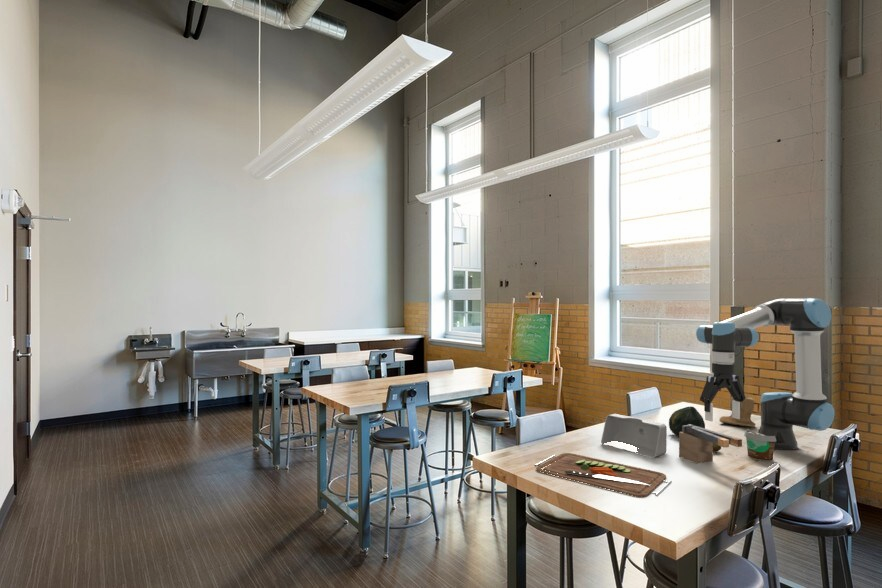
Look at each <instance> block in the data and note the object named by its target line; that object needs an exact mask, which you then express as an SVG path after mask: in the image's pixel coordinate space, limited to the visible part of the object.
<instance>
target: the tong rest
mask: <svg viewBox="0 0 882 588" xmlns="http://www.w3.org/2000/svg"><path fill="white" fill-rule="evenodd" d="M686 426H688V425H684V426H682V432H679V436H678V457H679V458H682V459H684V460H686V461H690V462H691V463H695V464H704V463H705V464H706V463H713V462H714V452H713V443H712V442H709V441H707V440H705V439H702V438H700V437H697V436H695V435H692V434H690V433H687V432H686ZM693 427H695V428H698V429H701V430H703V431H706V432H709V433H711V434H714V435H716V436H719V437H722V438H725V439H728V440H729V446H733V447H737V448H741V447H743V439H742V438H738V437H735V436H732V435H727V434H724V433H721V432H717V431H715V430H714V431H713V430H711V429H708V428H705V429H704V428H701V427H698V426H694V425H693Z"/></svg>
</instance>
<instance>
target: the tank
mask: <svg viewBox="0 0 882 588" xmlns="http://www.w3.org/2000/svg"><path fill="white" fill-rule="evenodd" d="M603 425H604V426H603V431H602V435H601V439H600V441H601V443H600V444H604V443H607V442H611V441H618V442H623V443H626V444H630V445H633V446H635V447H637V451H638V452H636V453H638V454H637V455H640V454H641V455H640V456H644V457H647V458H648V457H649V458H652V459H653V458H657V457H659V456H661V455H665V454H666V453H667V444H668V443H667V442H668V441H667V440H668V438H667V436H668V435H667V432H668V431H667V429H668V427H667V425H666V424H665V423H663V422H657V421H654V420H648V419H643V418H639V417H633V416H628V415H624V414H623V415H622V414H618V413H612V414H608V415H607V416H606V417H605V421H604V424H603ZM638 448H639V449H638ZM636 453H635V452H634V453H633V454H636Z"/></svg>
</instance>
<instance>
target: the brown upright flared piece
mask: <svg viewBox="0 0 882 588" xmlns="http://www.w3.org/2000/svg"><path fill="white" fill-rule="evenodd" d="M733 400H734V399H733V397H732V396H731V397H730V401H729V402H730V408H731V411H732V401H733ZM734 401H735V400H734ZM754 410H755V400H754V398H752V397H749V396H748V397H746V396H745V399H744V401H743V402H741V409H740V419H736V418H732V413H731V415H729V416H728V415H727V416H721V417H719V422H720V423H722V424H726V425H732V426H738V425H739V426H738V427H755V426H756V423H755V422H754V421H752V420H751V417H752V414H753V413H754V412H753V411H754Z"/></svg>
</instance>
